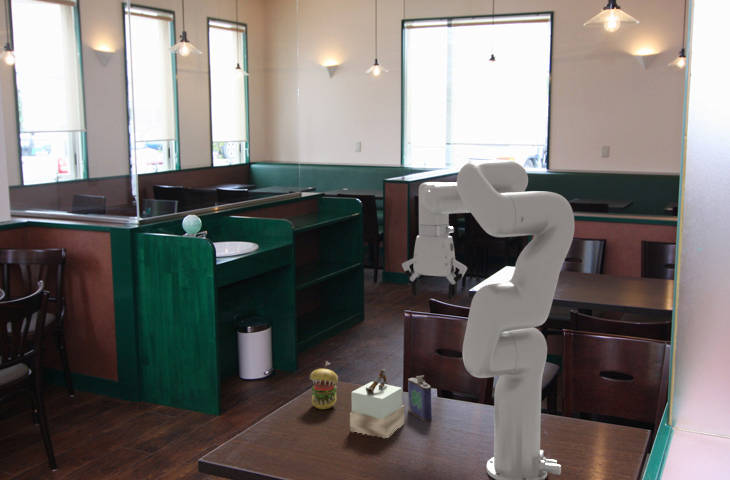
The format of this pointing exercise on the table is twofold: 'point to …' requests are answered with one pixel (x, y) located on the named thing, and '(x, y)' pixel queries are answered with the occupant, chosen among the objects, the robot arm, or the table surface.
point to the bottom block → (377, 423)
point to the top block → (377, 400)
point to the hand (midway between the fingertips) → (434, 297)
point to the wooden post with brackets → (376, 382)
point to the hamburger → (324, 388)
